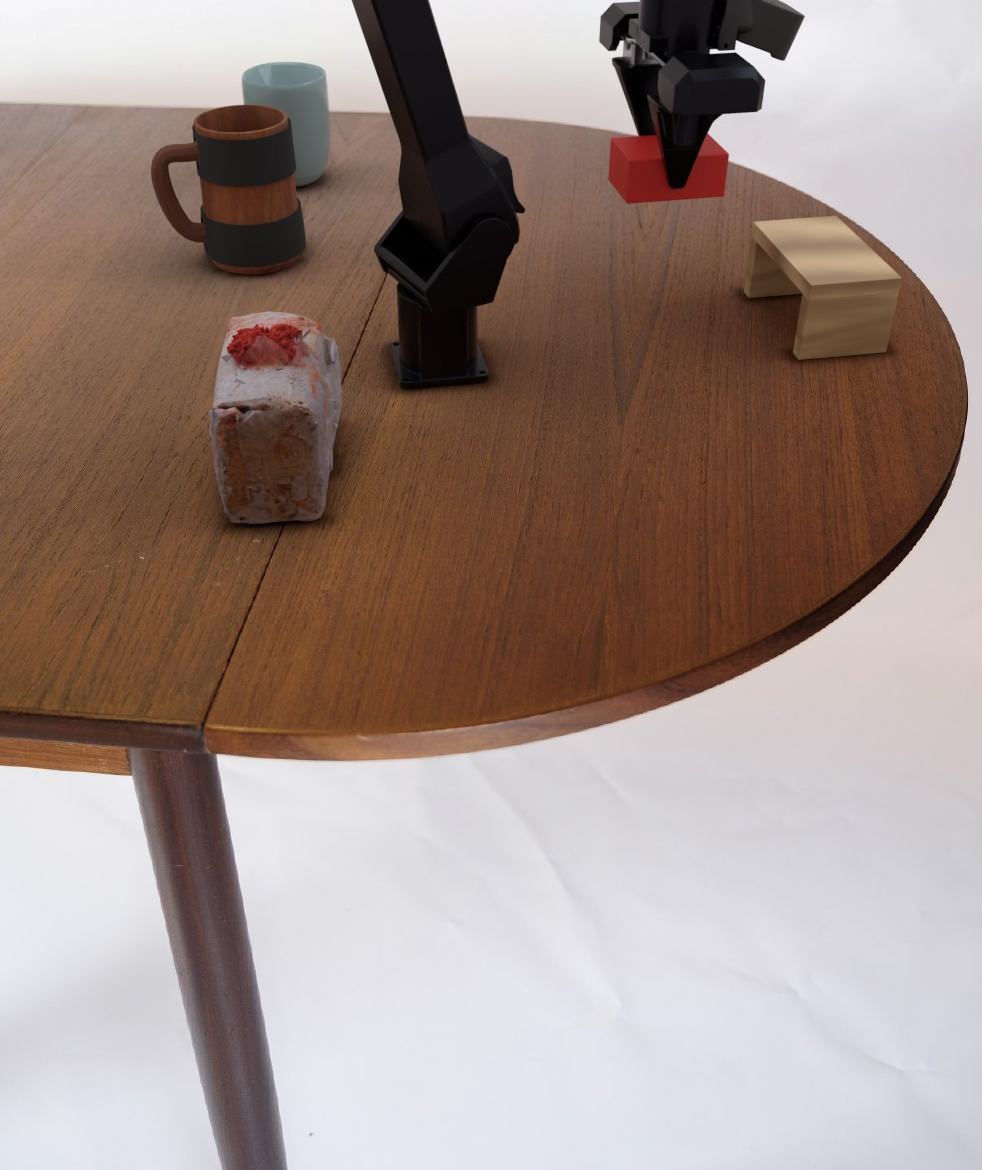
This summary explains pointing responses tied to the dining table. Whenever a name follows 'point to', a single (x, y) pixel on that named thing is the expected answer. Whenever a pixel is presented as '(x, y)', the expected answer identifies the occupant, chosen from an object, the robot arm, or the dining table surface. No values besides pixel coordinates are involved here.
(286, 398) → the food item
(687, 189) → the block
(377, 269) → the dining table surface
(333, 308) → the dining table surface
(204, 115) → the mug
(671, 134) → the robot arm
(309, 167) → the cup
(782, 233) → the stand
